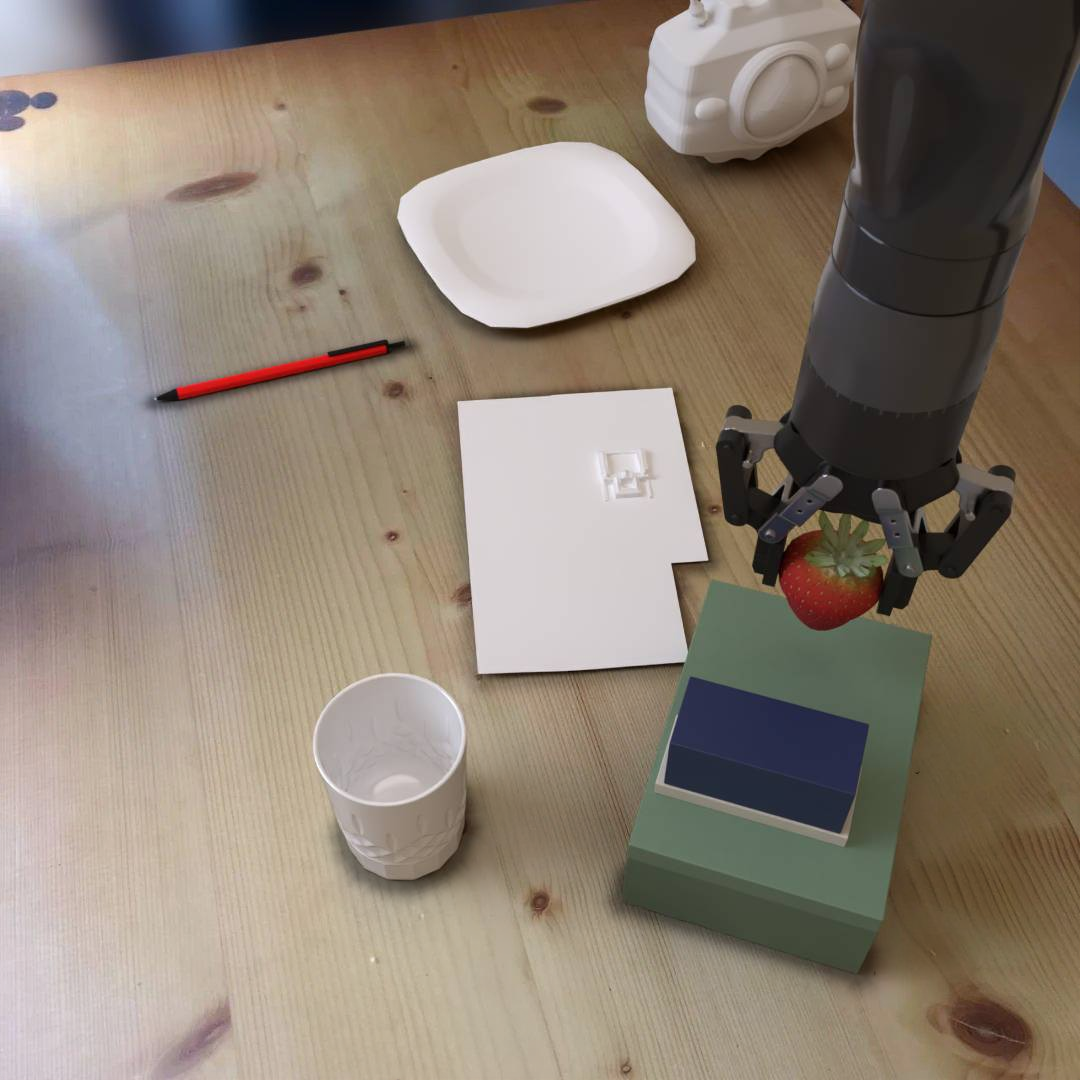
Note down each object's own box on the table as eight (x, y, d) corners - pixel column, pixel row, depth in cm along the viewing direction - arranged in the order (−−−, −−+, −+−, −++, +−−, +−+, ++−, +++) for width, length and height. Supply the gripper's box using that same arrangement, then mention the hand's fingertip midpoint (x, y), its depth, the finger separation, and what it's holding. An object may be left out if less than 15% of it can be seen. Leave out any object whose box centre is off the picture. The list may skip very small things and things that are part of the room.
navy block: (858, 774, 69) (877, 724, 65) (844, 847, 66) (863, 799, 62) (675, 723, 71) (683, 671, 67) (654, 792, 68) (660, 742, 64)
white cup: (364, 914, 71) (343, 830, 64) (317, 796, 76) (291, 705, 68) (496, 857, 73) (491, 768, 66) (442, 746, 78) (431, 651, 70)
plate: (724, 281, 105) (727, 264, 104) (479, 362, 99) (478, 345, 98) (599, 141, 117) (600, 124, 116) (374, 205, 111) (372, 188, 110)
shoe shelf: (906, 700, 80) (932, 634, 75) (857, 974, 69) (883, 921, 64) (699, 645, 83) (710, 578, 77) (621, 901, 72) (628, 844, 66)
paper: (441, 404, 96) (440, 394, 95) (669, 381, 97) (670, 370, 97) (479, 689, 80) (479, 679, 79) (750, 656, 82) (752, 646, 81)
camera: (627, 141, 117) (638, -31, 105) (800, 96, 122) (829, -74, 110) (685, 210, 111) (702, 35, 99) (864, 159, 116) (903, -13, 103)
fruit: (864, 672, 69) (896, 580, 63) (762, 655, 69) (784, 562, 63) (868, 596, 72) (899, 501, 66) (771, 581, 73) (792, 485, 66)
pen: (406, 351, 100) (405, 340, 99) (156, 407, 96) (152, 396, 95) (403, 343, 101) (402, 332, 100) (154, 399, 97) (151, 388, 96)
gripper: (710, 366, 54) (676, 608, 67) (1066, 445, 51) (959, 681, 64) (748, 257, 59) (710, 504, 72) (1078, 323, 56) (976, 568, 69)
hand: (828, 587), depth 68 cm, fingers closed on fruit, 5 cm apart
